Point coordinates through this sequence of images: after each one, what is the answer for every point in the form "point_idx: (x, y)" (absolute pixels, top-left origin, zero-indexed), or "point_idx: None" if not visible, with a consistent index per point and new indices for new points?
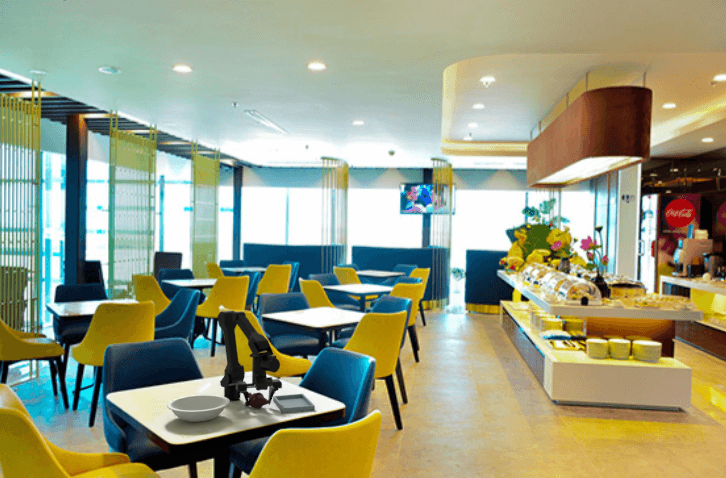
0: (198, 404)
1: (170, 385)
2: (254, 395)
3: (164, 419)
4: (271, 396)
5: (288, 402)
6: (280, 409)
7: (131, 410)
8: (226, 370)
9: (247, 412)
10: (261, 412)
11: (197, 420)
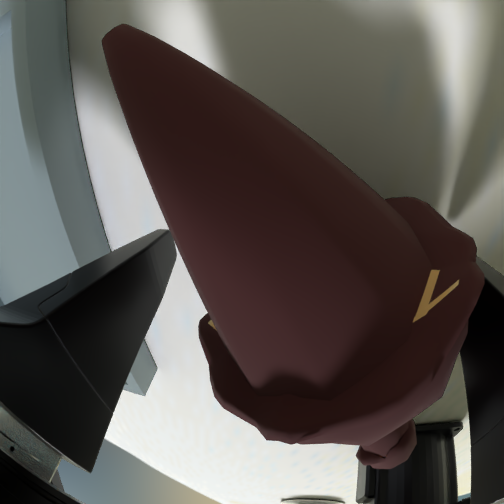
0: None
1: (460, 494)
2: (428, 367)
3: None
4: (71, 282)
5: (40, 275)
6: (66, 89)
7: None
8: None
9: (488, 124)
10: (313, 37)
11: None
